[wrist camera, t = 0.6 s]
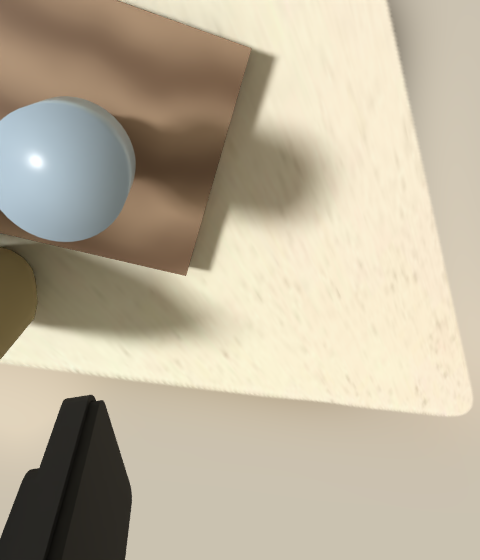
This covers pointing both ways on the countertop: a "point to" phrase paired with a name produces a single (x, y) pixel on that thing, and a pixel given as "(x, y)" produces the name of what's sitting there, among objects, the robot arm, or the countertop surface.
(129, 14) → the thread post
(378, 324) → the countertop surface
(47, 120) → the lever handle
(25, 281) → the squeeze bottle
